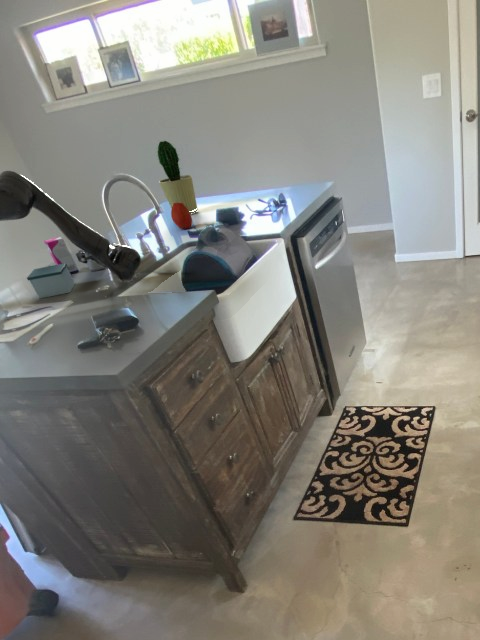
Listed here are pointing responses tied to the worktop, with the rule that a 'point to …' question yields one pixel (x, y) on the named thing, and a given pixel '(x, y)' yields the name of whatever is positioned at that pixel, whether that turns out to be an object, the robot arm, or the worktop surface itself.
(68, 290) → the container
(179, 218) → the red ovoid
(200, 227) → the worktop surface
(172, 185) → the potted cactus
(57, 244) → the supplement box
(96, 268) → the beverage can
